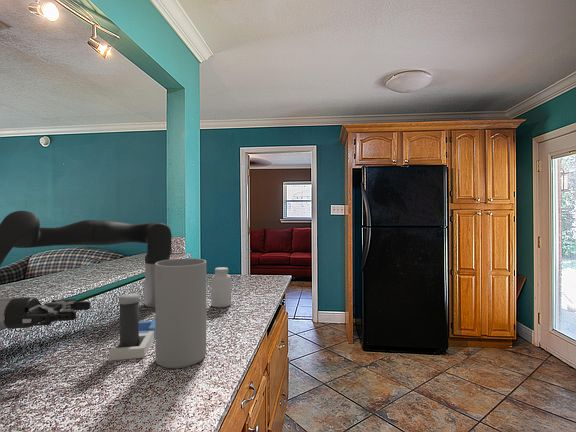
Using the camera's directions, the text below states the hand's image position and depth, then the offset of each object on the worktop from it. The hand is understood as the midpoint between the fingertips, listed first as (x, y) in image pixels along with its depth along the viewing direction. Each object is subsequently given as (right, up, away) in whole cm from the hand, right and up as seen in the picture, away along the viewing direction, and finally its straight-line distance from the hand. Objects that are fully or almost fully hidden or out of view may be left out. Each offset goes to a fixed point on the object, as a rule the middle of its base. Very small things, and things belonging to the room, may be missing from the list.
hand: (83, 310), depth 82 cm
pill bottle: (+27, -11, +44) cm, 53 cm away
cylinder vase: (+26, -12, -1) cm, 29 cm away
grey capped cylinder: (+11, -12, +3) cm, 16 cm away
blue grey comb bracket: (+10, -12, +8) cm, 18 cm away
